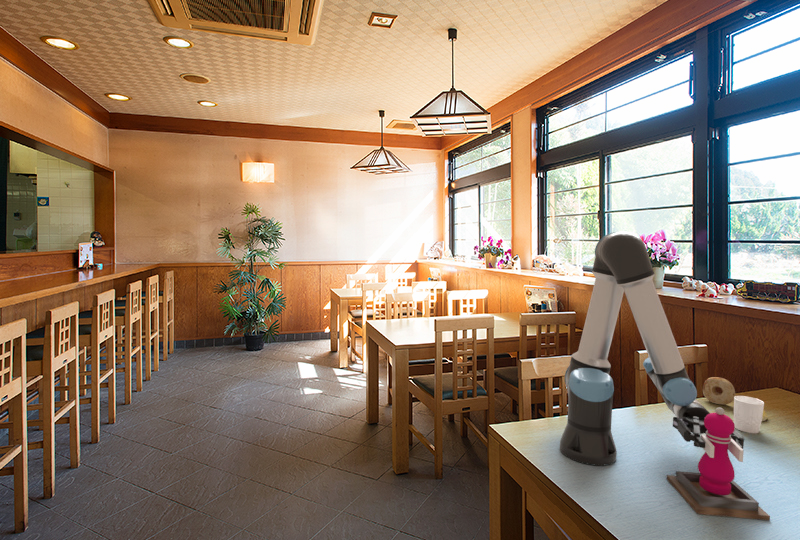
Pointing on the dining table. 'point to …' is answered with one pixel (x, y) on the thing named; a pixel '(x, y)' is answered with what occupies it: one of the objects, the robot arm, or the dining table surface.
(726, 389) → the stone disc
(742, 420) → the white cup
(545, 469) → the dining table surface
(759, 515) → the cruet board
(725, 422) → the pepper mill
